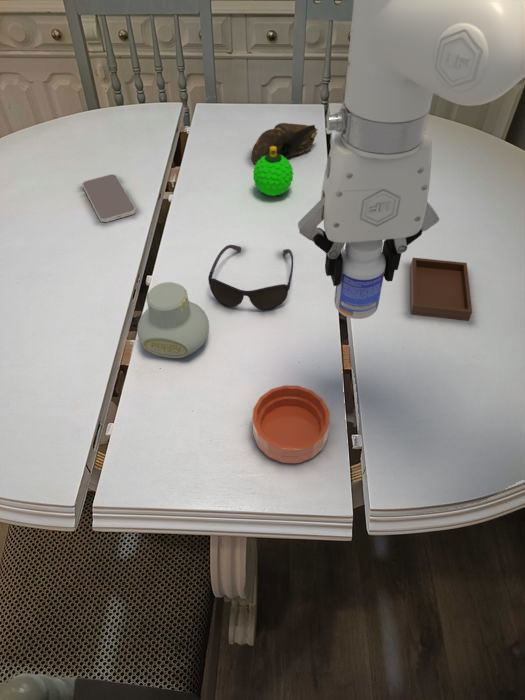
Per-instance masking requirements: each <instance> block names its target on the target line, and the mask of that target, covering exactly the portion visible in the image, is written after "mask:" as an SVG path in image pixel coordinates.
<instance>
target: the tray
mask: <svg viewBox="0 0 525 700" xmlns="http://www.w3.org/2000/svg"><path fill="white" fill-rule="evenodd" d="M472 314H473V306H472V297H471V290H470V281H469V272H468V263H467V262H462V261H454V260H453V261H451V260H443V259H442V260H441V259H433V258H432V259H431V258H422V257H421V258H420V257H412V259H411V263H410V315H415V316H424V317H433V318H434V317H435V318H443V319H452V320H460V321H461V320H462V321H468V322H469V321H470V319H471V316H472Z"/></svg>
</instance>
